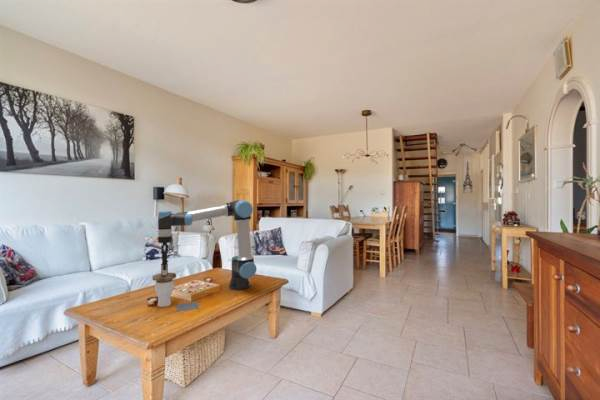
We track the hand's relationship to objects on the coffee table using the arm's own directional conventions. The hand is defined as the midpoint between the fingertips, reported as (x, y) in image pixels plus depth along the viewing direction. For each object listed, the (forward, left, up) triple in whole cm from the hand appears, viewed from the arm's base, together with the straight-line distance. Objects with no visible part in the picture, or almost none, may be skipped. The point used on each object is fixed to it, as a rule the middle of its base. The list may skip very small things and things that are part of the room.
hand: (164, 274), depth 173 cm
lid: (0, 0, -2) cm, 2 cm away
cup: (0, 0, -19) cm, 19 cm away
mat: (-13, +9, -19) cm, 25 cm away
